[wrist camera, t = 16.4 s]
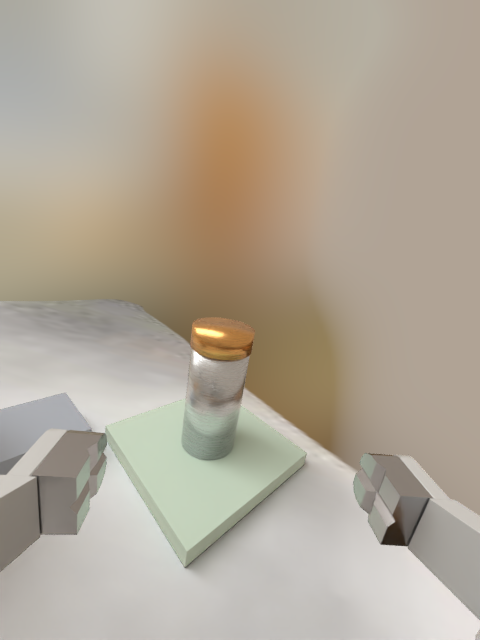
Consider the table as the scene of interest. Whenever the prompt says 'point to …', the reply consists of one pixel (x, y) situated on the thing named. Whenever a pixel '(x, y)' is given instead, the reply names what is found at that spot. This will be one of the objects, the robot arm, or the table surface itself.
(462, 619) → the table surface
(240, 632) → the table surface
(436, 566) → the robot arm
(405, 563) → the table surface
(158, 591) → the table surface
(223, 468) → the pad
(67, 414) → the cover plate
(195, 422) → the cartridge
